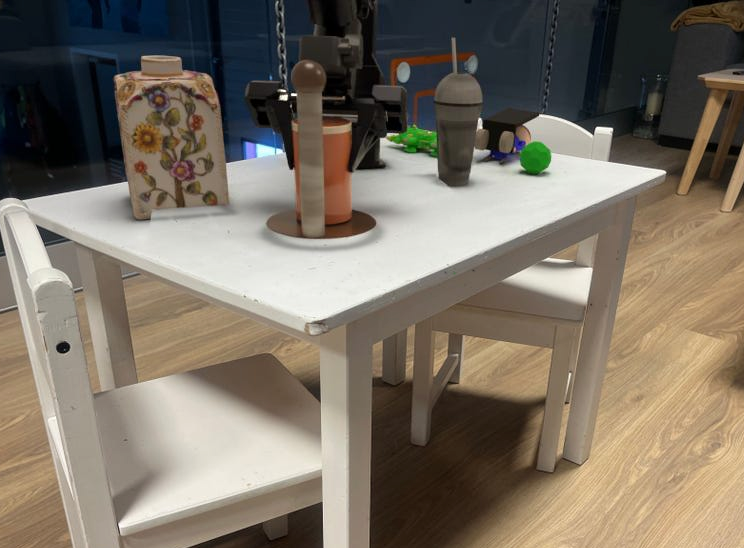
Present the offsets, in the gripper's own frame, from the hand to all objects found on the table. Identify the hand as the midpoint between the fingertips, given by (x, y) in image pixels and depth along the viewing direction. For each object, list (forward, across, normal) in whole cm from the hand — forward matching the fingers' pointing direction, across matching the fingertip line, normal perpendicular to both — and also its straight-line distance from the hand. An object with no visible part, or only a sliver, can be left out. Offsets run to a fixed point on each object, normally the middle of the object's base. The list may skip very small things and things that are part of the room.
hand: (320, 169), depth 83 cm
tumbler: (+3, 0, +5) cm, 6 cm away
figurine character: (-28, +24, +39) cm, 53 cm away
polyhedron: (-20, +28, +31) cm, 46 cm away
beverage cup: (-14, +15, +24) cm, 32 cm away
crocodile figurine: (-29, +10, +40) cm, 50 cm away
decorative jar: (0, -20, +11) cm, 23 cm away
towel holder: (+5, 0, +5) cm, 7 cm away
